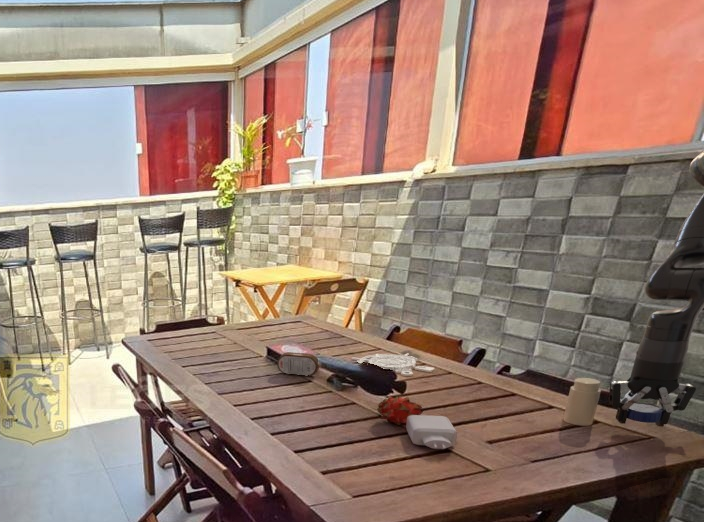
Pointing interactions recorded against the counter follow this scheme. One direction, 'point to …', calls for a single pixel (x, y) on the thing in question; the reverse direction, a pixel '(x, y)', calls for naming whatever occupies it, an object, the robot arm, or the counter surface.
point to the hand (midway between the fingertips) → (640, 423)
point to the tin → (298, 363)
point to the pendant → (395, 363)
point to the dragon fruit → (398, 409)
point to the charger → (431, 431)
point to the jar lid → (644, 413)
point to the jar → (582, 402)
